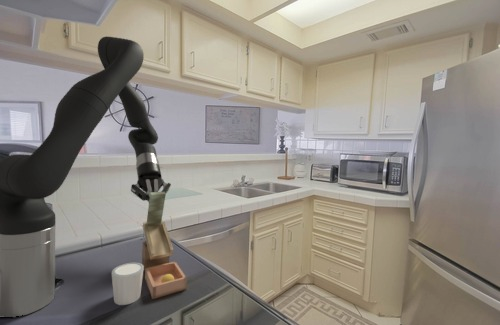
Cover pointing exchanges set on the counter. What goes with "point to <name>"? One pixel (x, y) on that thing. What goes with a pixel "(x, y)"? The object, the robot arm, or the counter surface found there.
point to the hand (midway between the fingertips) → (155, 209)
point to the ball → (167, 278)
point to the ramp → (157, 228)
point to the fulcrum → (154, 262)
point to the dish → (161, 289)
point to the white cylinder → (127, 283)
